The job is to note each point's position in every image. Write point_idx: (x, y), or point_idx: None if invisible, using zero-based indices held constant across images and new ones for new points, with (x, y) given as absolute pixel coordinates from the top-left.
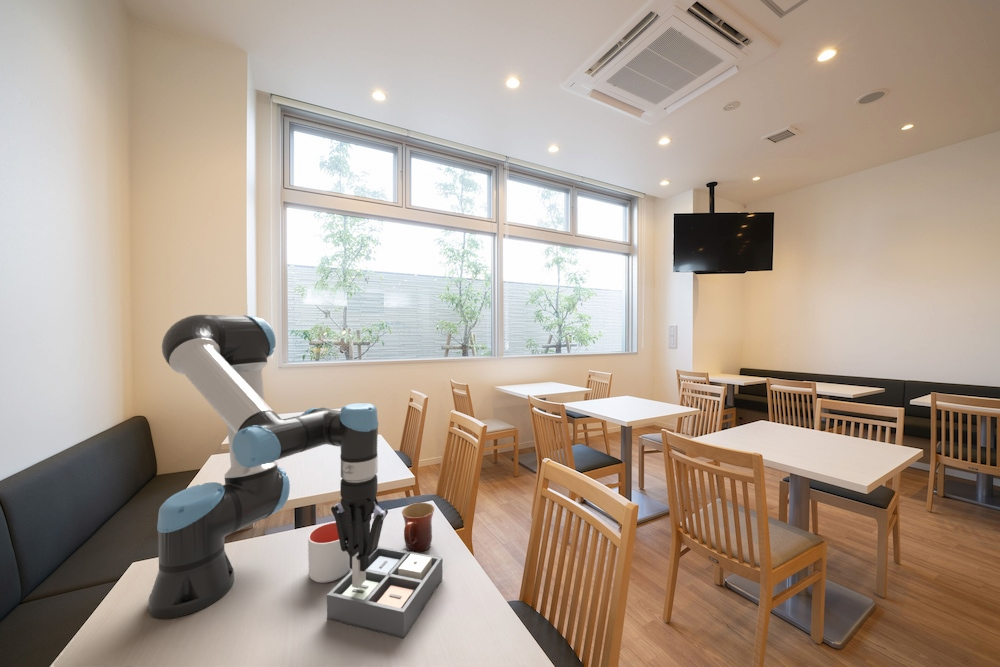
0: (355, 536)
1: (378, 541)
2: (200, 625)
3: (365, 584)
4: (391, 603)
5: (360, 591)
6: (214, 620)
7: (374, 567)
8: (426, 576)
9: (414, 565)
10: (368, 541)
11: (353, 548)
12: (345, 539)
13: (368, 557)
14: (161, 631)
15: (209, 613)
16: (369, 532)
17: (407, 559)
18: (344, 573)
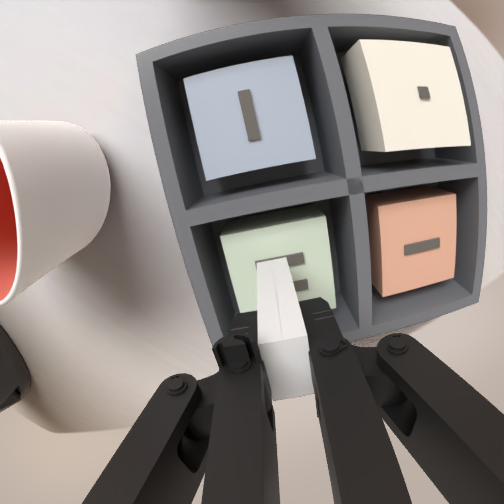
0: (275, 487)
1: (450, 371)
2: (60, 392)
3: (281, 249)
4: (425, 274)
5: (296, 288)
6: (61, 382)
7: (227, 148)
8: (478, 141)
9: (430, 110)
10: (419, 461)
11: (273, 430)
12: (198, 473)
13: (338, 329)
14: (46, 404)
15: (41, 373)
16: (394, 460)
17: (378, 80)
18: (109, 183)
